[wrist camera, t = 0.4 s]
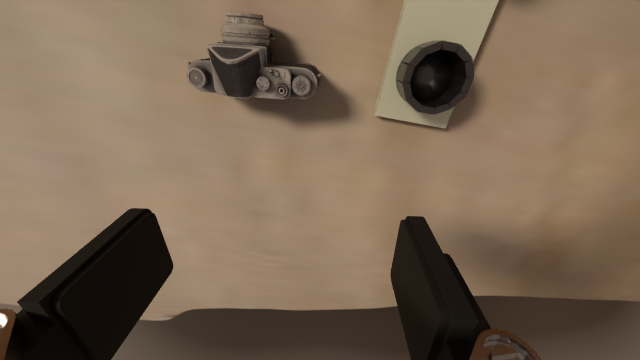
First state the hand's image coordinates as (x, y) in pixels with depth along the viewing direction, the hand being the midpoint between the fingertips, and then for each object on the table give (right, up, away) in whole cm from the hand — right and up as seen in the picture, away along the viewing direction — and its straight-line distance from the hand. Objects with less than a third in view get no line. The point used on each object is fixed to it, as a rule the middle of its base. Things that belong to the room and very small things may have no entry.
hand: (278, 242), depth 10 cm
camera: (-6, +19, +24) cm, 31 cm away
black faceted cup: (+15, +16, +23) cm, 31 cm away
